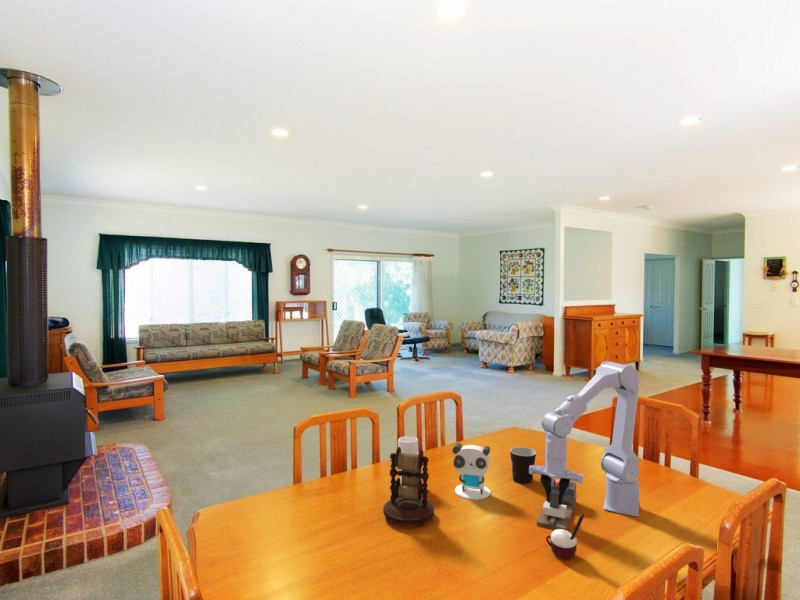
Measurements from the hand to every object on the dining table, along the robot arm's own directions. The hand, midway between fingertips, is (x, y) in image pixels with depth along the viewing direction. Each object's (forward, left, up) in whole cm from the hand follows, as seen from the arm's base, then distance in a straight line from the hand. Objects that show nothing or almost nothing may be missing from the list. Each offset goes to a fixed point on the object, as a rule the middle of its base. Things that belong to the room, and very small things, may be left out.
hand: (554, 502), depth 137 cm
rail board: (0, -5, -5) cm, 7 cm away
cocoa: (-5, +17, -6) cm, 19 cm away
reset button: (0, -12, +1) cm, 12 cm away
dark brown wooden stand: (+38, +17, -6) cm, 42 cm away
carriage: (0, 0, -3) cm, 3 cm away
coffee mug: (+14, -25, -5) cm, 29 cm away
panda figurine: (+27, -7, -5) cm, 28 cm away
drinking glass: (+48, -3, -5) cm, 48 cm away
